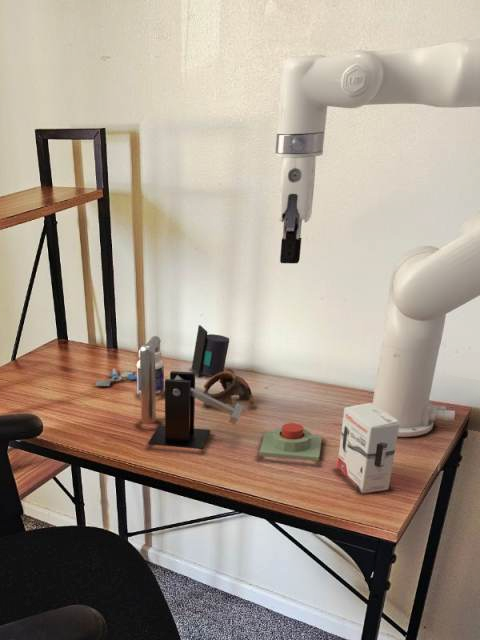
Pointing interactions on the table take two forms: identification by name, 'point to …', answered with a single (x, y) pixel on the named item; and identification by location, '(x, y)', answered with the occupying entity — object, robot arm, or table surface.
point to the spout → (148, 380)
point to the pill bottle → (158, 375)
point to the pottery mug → (229, 387)
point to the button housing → (291, 446)
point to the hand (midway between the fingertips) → (289, 262)
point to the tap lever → (217, 404)
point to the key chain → (115, 375)
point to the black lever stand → (180, 415)
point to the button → (292, 431)
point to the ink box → (368, 446)
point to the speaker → (209, 353)
